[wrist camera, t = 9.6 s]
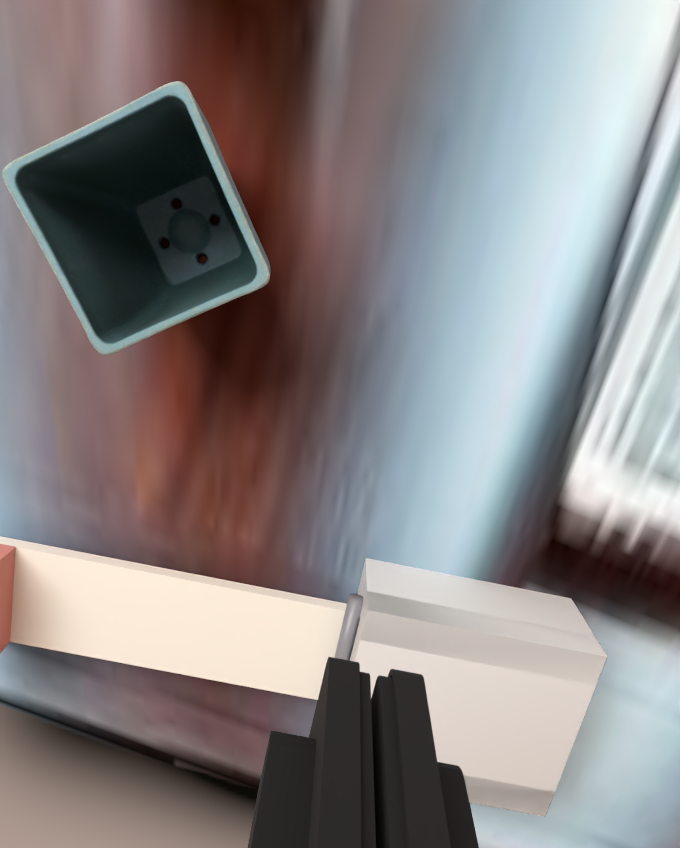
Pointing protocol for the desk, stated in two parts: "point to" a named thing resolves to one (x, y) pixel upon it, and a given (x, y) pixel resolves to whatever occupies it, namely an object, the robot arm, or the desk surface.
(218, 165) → the flower pot
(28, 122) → the desk surface
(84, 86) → the desk surface
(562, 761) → the block
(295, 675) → the long cream plank
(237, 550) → the desk surface
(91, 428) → the desk surface
